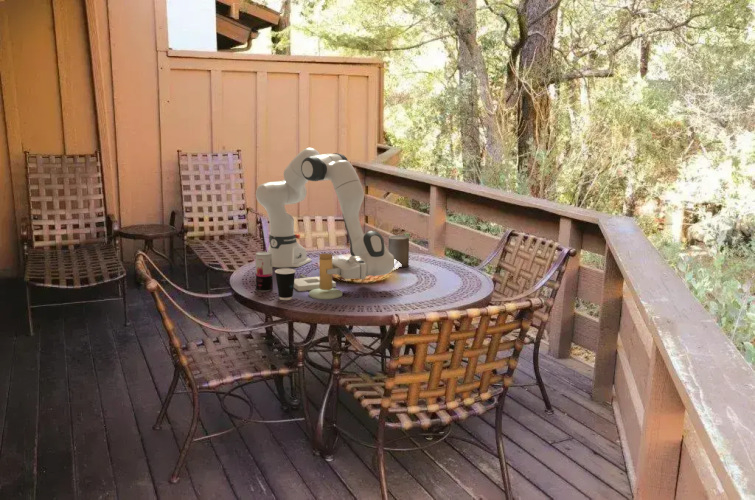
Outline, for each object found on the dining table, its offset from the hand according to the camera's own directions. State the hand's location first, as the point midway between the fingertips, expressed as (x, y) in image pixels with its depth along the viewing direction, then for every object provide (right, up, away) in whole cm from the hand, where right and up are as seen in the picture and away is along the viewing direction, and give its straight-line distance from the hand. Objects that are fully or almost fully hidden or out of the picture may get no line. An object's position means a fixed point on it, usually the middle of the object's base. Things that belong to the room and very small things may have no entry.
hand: (323, 269), depth 261 cm
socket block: (-8, -6, +19) cm, 22 cm away
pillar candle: (+31, 0, +54) cm, 62 cm away
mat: (+1, -10, +3) cm, 10 cm away
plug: (+1, -7, +2) cm, 8 cm away
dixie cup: (-14, -11, -3) cm, 18 cm away
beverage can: (-24, -8, +8) cm, 27 cm away
